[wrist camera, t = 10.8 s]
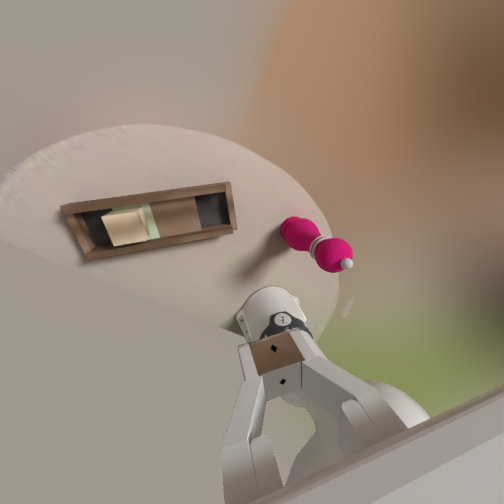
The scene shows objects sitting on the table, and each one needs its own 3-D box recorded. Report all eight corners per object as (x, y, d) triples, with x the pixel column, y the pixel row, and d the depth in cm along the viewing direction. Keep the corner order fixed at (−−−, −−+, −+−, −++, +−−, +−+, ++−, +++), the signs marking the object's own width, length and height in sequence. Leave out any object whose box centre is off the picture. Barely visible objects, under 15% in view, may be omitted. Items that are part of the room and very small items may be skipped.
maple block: (150, 233, 37) (145, 240, 33) (122, 238, 36) (113, 246, 32) (141, 207, 35) (135, 211, 31) (110, 211, 34) (101, 216, 30)
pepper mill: (309, 216, 47) (377, 245, 29) (301, 243, 50) (360, 286, 32) (282, 212, 45) (338, 242, 27) (275, 241, 47) (323, 286, 30)
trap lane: (235, 226, 43) (239, 232, 39) (92, 252, 38) (80, 262, 34) (228, 181, 39) (232, 183, 35) (68, 203, 34) (51, 208, 30)
